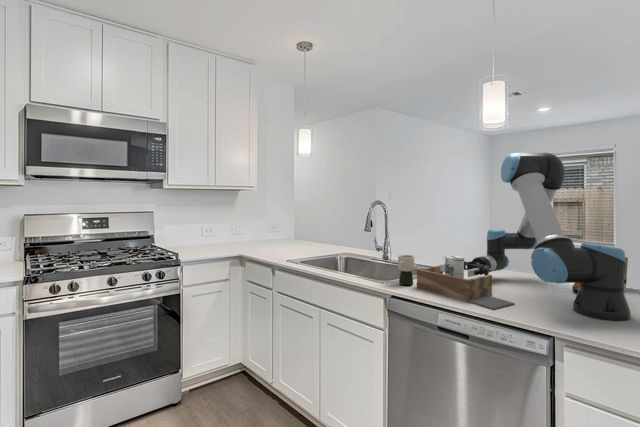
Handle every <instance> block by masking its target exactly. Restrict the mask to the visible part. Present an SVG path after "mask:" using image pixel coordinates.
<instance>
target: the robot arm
mask: <svg viewBox="0 0 640 427" xmlns="http://www.w3.org/2000/svg"><path fill="white" fill-rule="evenodd" d="M565 176H566V169H565V166H564V163H563V160H561V159H560V158H559V157H558V156H557V155H556V154H553V153H550V152H515V153H509V154H507V155H506V156H505V157H504V159H503V161H502V164H501V169H500V179H501V181H503V183H509V184H510V186H511V189H512V190H513V191H515V192H517V193H518V195H519V198H520V200H521V204H522V206H523V209H524V211H525V212H524V215H523V217H522V219H521V221H520V224H519V227H518V228H517V229H518V230H517V232H506V230H505V229H503V228H489V229H488V230H487V233H486V255H481V256H478V257H477V256H476V257H475V258H473V259H472V261H466V260H464V271H467V277H468V278H470V277H475V276H479V275H480V276H485V275H489V274H490V273H491V272H495V271H496V272H498V271H502V270H504V269H506V268H507V267H508V266H509V264H510V260H509V258H508V256H507V255H506V250H532V249H533V251H532V253H531V256H530V259H531V261H530V263H531V268H532V269H533V271H534V273H535V274H534V275H536V276H537V277H538V279H539V280H541V281H544V282H545V283H549V284H550V283H555V284H569V283H570V284H571V283H572V284H574V283H580V289H579V291H578V293H577V294H576V296H575V298H574V301H573V302H572V303H573V305H572V310H573V311H575V312H576V313H578V314H580V315H584V316H586V317H590V318H594V319H601V320H607V321H626V320H630V319H631V310H630V306H629V304H628V300H627V298H626V296H625V292H624V276H625V263H626V261H625V257H626V252H625V251H624V249H622V248H620V247H616V246H609V245H604V244H603V245H602V244H595V243H590V242H589V243H588V242H582V243H581V245H580V247H576V246H575V244H574V242H573V239H571V238H570V237H567V236H565V234H564V231H563V229H562V227H561V225H560V221H559V220H558V218H557V215H556V212H555V210H554V208H553V206H552V201H553V199H554V197H555V195H556V193H557V191H559V190H561V189H562V186H563V184H564V182H565V180H566V179H565ZM439 265H440V271H443V272H445V263H441V264H439Z"/></svg>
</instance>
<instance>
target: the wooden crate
mask: <svg viewBox="0 0 640 427" xmlns="http://www.w3.org/2000/svg"><path fill="white" fill-rule="evenodd" d="M440 265H441V264H439V265H434V266H429V267H424V268H418V269H416V288H417V289H420V290H424V291H428V292H430V293H431V292H432V293H435V294H439V295H443V296H447V297H450V298H453V299H458V300H461V301H465V299H466V300H471V299H475V298H478V297H482V296H485V295H487V296H492V295H493V275H492V274H488V275H480V276H477V277H473V278H464V279H463V278H459V277H454V276H449V275H445V273H443V272H444V271H440ZM465 302H466V301H465Z"/></svg>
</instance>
